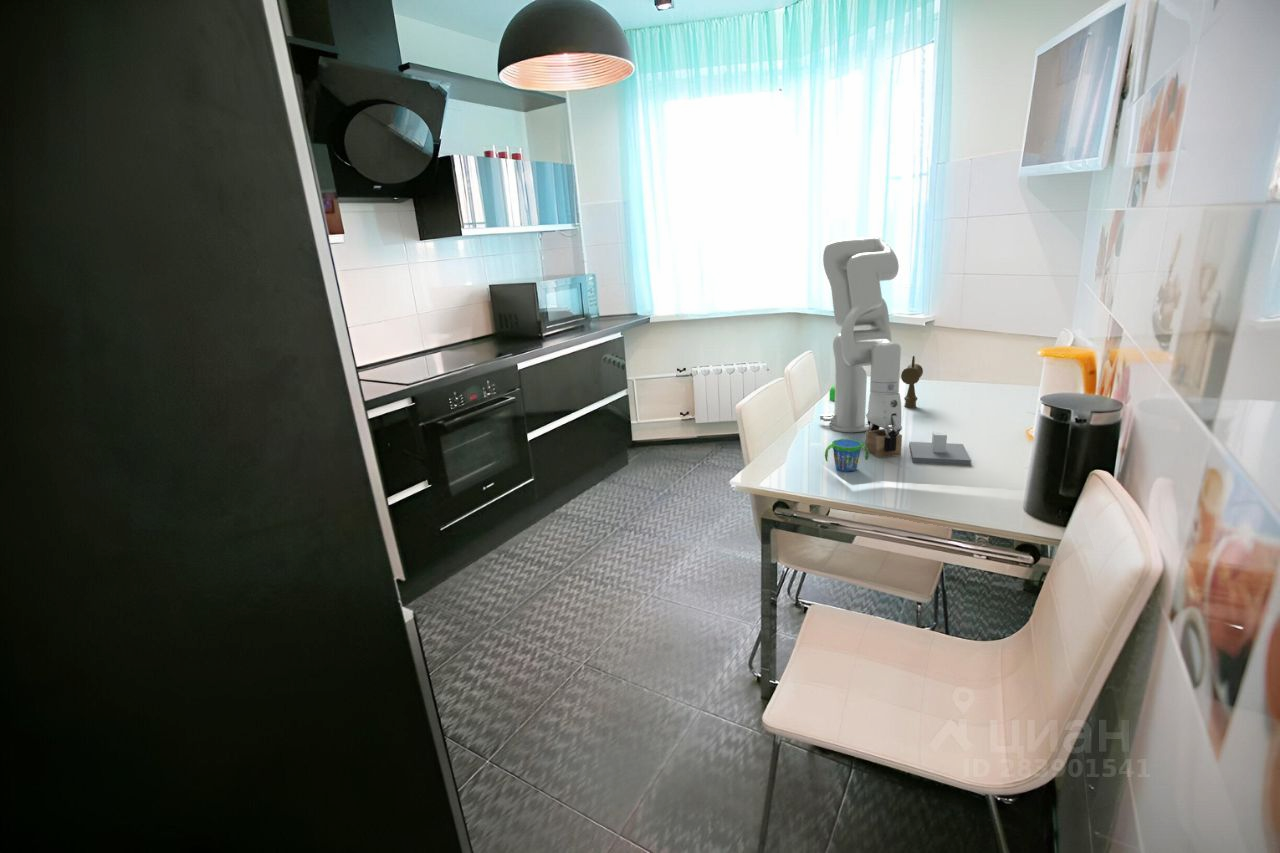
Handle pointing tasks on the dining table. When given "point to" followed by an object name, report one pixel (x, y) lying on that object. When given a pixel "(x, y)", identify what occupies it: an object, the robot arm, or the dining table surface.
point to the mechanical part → (832, 393)
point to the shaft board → (939, 458)
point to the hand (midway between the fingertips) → (882, 446)
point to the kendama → (911, 382)
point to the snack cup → (846, 454)
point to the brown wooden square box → (881, 443)
